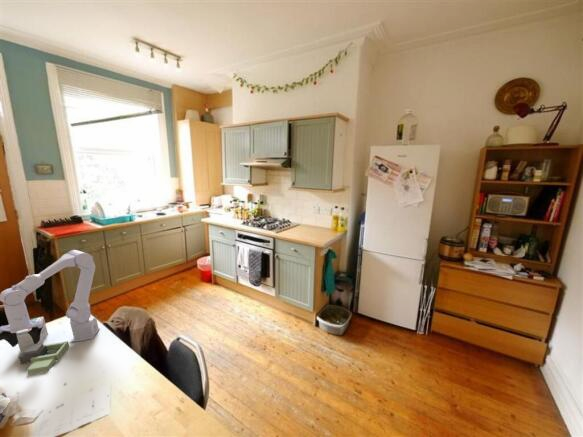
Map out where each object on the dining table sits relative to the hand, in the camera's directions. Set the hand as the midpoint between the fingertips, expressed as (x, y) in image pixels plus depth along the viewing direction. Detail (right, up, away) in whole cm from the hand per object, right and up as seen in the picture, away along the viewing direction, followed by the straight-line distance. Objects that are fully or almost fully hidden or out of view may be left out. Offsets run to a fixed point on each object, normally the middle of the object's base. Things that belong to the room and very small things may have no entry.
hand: (26, 343), depth 105 cm
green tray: (+5, -10, +5) cm, 12 cm away
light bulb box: (-11, -7, +14) cm, 19 cm away
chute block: (-2, -9, +6) cm, 11 cm away
